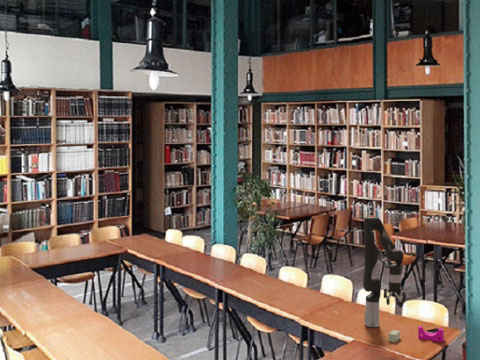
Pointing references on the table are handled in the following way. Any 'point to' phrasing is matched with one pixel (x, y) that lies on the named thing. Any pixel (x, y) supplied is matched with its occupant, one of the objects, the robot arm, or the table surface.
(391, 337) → the green brick
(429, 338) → the toy block
